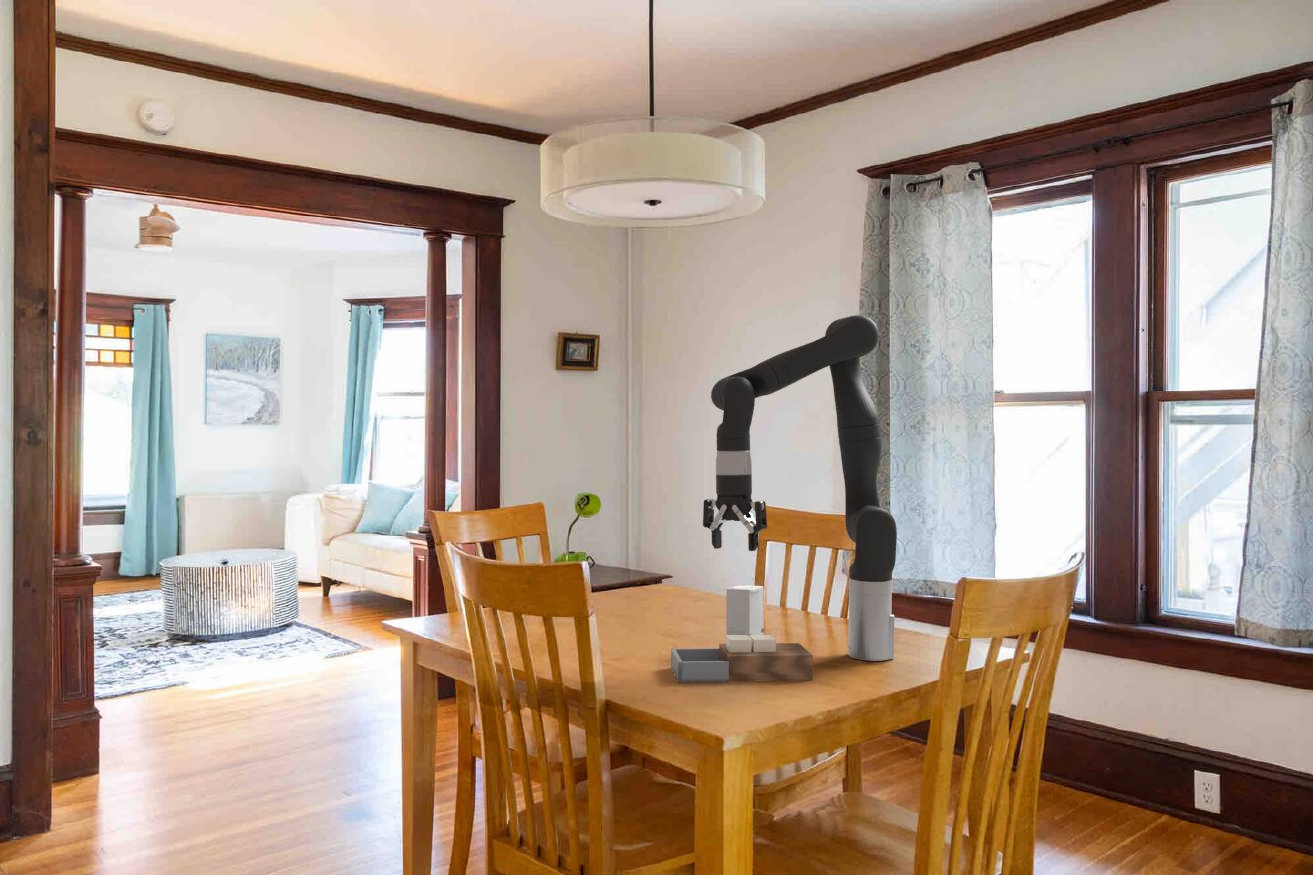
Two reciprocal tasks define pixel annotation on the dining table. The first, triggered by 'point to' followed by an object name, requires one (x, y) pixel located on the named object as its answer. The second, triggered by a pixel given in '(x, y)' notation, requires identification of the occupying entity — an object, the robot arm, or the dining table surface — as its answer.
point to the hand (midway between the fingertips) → (734, 549)
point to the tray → (698, 665)
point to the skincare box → (745, 610)
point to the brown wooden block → (769, 664)
